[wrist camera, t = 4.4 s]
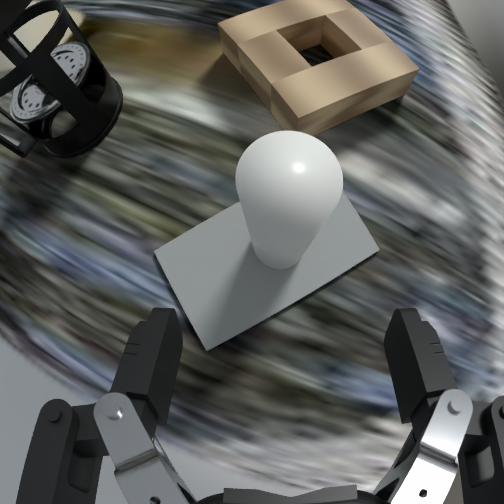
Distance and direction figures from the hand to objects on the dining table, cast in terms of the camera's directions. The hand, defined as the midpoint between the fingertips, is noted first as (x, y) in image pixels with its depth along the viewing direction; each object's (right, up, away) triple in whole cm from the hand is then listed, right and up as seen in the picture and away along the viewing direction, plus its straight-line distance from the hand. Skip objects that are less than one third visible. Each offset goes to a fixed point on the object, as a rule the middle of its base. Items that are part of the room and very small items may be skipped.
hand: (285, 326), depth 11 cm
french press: (-18, +15, +14) cm, 28 cm away
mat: (0, +3, +11) cm, 12 cm away
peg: (+1, +3, +11) cm, 11 cm away
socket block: (+4, +19, +14) cm, 24 cm away
